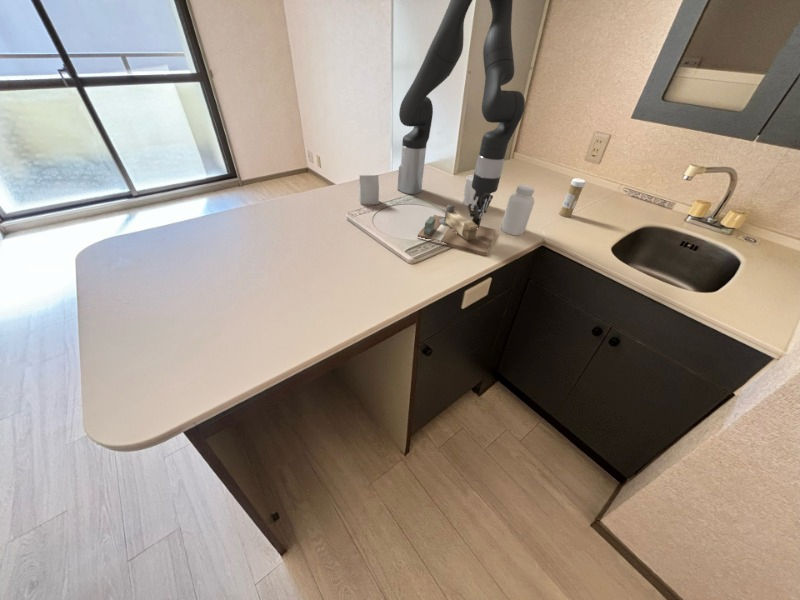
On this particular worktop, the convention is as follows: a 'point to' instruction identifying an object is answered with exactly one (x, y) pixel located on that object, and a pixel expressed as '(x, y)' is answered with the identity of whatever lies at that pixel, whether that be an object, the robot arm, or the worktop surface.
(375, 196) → the grey upright block
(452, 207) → the stool leg
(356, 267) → the worktop surface
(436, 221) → the board
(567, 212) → the sprinkles bottle
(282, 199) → the worktop surface
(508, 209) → the pill bottle
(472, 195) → the white cup
